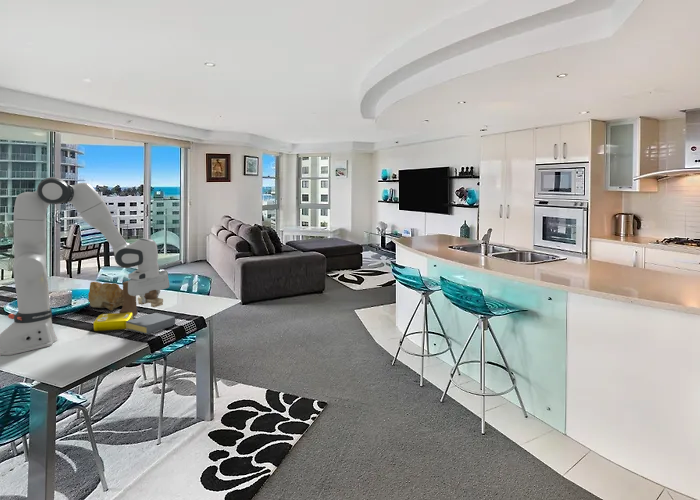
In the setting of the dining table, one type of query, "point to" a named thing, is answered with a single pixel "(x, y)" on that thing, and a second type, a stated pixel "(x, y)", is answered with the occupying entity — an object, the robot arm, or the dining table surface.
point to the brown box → (151, 295)
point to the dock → (150, 323)
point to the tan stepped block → (152, 302)
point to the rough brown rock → (105, 295)
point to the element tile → (112, 321)
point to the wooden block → (128, 301)
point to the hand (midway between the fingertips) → (150, 301)
